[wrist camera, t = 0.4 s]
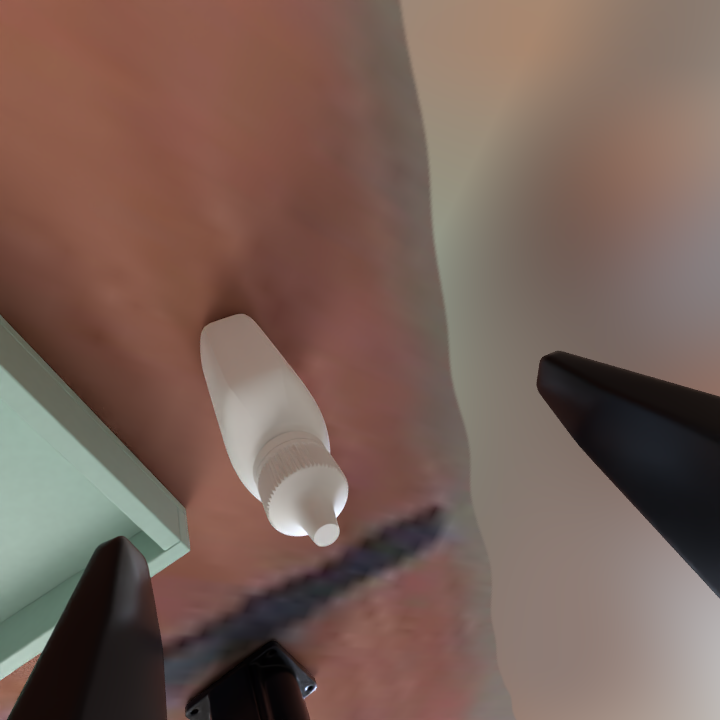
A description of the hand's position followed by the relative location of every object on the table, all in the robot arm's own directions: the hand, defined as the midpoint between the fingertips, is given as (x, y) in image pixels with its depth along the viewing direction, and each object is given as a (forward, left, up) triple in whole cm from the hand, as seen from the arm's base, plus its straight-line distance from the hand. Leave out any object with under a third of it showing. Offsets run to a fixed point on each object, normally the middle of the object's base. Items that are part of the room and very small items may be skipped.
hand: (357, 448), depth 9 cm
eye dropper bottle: (-3, +2, -14) cm, 14 cm away
